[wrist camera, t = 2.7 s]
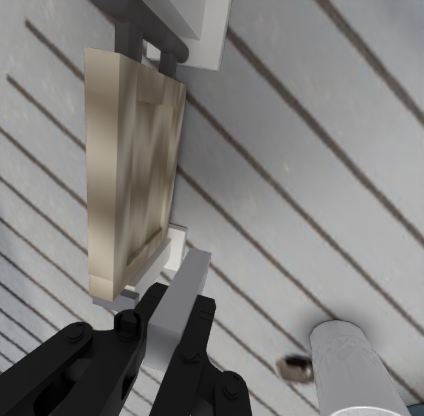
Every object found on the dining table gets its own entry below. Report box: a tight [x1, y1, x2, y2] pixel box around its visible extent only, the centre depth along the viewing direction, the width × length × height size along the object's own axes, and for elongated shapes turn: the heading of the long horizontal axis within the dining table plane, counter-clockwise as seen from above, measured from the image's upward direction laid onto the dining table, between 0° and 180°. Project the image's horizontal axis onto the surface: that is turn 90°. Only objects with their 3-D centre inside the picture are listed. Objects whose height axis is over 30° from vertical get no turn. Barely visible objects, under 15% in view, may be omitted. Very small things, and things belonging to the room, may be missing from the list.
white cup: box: [310, 320, 411, 416], centre depth 25 cm, size 8×8×10 cm
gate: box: [84, 0, 189, 302], centre depth 19 cm, size 20×2×11 cm, turn 169°
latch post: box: [93, 224, 188, 312], centre depth 25 cm, size 6×6×11 cm
